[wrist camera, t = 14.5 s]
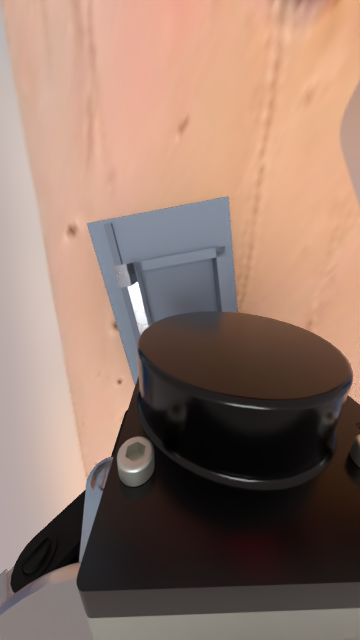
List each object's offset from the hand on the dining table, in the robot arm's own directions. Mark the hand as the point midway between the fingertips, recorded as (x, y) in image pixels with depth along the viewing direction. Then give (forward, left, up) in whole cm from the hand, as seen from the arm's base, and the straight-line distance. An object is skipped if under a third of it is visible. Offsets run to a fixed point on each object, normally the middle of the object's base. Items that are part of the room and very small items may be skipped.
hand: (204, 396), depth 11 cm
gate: (0, +5, -14) cm, 15 cm away
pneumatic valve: (0, 0, -3) cm, 3 cm away
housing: (+2, +1, -16) cm, 16 cm away
